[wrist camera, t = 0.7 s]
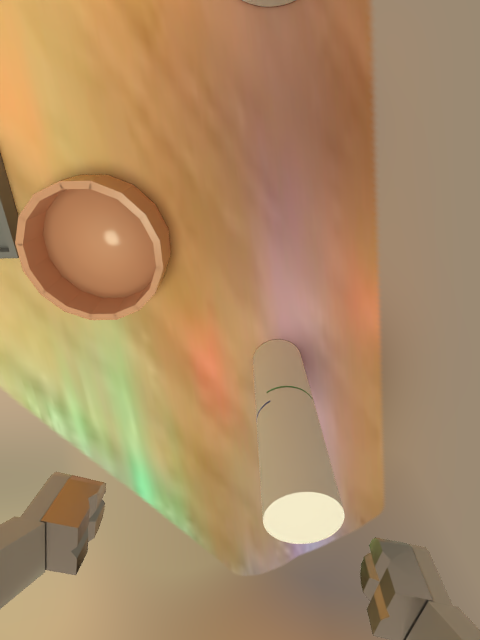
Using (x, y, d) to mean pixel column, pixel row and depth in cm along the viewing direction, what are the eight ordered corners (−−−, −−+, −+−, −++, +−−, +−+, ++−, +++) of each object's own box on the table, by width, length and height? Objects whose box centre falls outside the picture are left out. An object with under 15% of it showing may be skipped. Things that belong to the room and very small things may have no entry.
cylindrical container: (242, 362, 55) (246, 522, 33) (275, 330, 52) (302, 479, 30) (278, 387, 57) (304, 553, 35) (311, 357, 55) (361, 515, 32)
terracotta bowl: (24, 175, 43) (-4, 182, 38) (162, 173, 43) (152, 179, 38) (57, 301, 50) (38, 320, 45) (175, 300, 50) (169, 318, 45)
